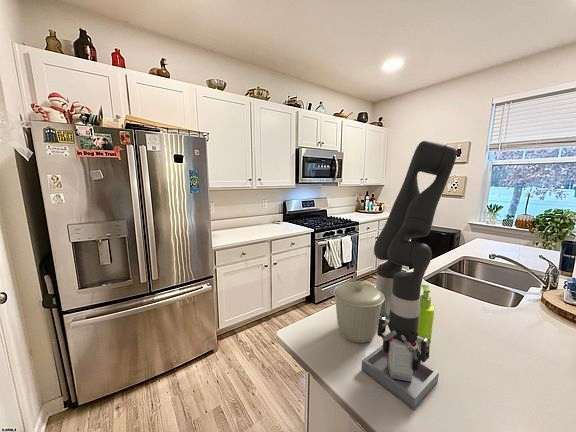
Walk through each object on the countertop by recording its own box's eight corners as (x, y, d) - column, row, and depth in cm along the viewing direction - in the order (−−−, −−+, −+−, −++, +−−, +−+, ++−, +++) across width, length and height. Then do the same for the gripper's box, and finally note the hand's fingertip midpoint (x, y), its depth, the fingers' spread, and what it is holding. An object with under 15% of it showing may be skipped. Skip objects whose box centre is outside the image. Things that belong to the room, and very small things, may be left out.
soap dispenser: (428, 334, 91) (433, 284, 87) (432, 346, 84) (438, 293, 81) (410, 331, 93) (415, 282, 89) (413, 342, 86) (418, 290, 83)
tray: (361, 370, 74) (362, 360, 73) (386, 350, 82) (387, 341, 82) (413, 410, 61) (415, 398, 61) (437, 382, 70) (438, 372, 69)
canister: (389, 332, 92) (393, 281, 88) (368, 359, 79) (372, 299, 75) (346, 314, 104) (348, 268, 100) (322, 334, 91) (324, 282, 87)
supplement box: (412, 383, 68) (415, 347, 66) (390, 380, 69) (393, 344, 68) (406, 367, 74) (410, 334, 72) (386, 364, 75) (389, 331, 73)
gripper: (437, 316, 65) (431, 369, 67) (388, 295, 76) (385, 341, 79) (424, 326, 60) (418, 382, 63) (374, 303, 72) (371, 351, 74)
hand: (400, 359), depth 71 cm, fingers open, 8 cm apart
